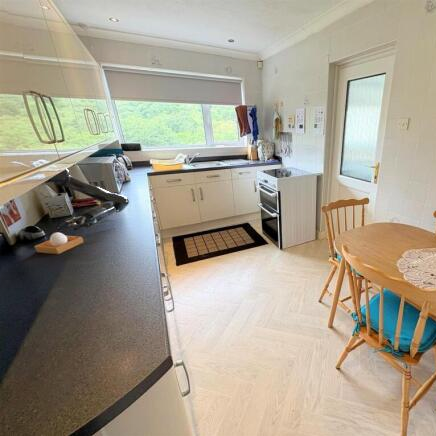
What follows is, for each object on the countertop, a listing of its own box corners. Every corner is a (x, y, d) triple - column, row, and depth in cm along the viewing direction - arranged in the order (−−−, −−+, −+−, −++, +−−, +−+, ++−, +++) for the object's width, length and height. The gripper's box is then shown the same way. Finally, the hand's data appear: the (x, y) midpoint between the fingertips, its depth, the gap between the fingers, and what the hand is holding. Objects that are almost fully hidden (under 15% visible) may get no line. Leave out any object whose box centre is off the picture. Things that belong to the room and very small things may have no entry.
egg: (63, 249, 113) (57, 235, 110) (49, 250, 112) (43, 235, 109) (72, 243, 118) (67, 229, 115) (59, 244, 117) (53, 230, 114)
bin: (37, 252, 110) (34, 246, 109) (64, 241, 121) (61, 235, 120) (58, 254, 109) (55, 248, 107) (84, 242, 120) (81, 236, 118)
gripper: (83, 207, 130) (51, 219, 116) (104, 210, 128) (75, 223, 114) (87, 219, 133) (57, 232, 119) (109, 222, 131) (81, 236, 117)
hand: (66, 228), depth 116 cm, fingers open, 8 cm apart
